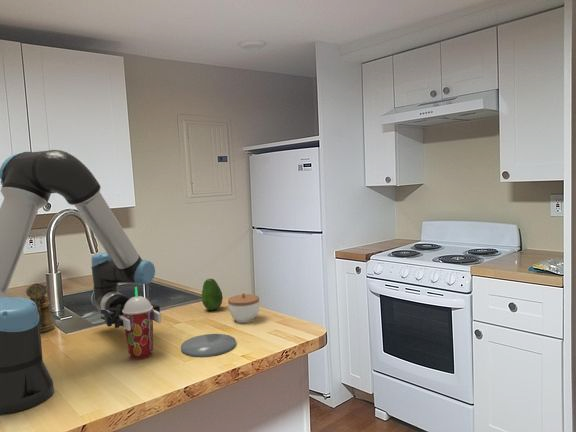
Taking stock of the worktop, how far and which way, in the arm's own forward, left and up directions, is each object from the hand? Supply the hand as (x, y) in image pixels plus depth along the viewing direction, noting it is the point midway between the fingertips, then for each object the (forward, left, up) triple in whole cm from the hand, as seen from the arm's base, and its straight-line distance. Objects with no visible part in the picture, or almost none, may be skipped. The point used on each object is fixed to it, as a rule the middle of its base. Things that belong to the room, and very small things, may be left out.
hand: (144, 321), depth 129 cm
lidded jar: (+28, -29, -11) cm, 42 cm away
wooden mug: (+36, +41, -11) cm, 56 cm away
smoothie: (+4, +2, -11) cm, 12 cm away
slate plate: (+6, -17, -11) cm, 21 cm away
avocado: (+44, -18, -11) cm, 49 cm away
